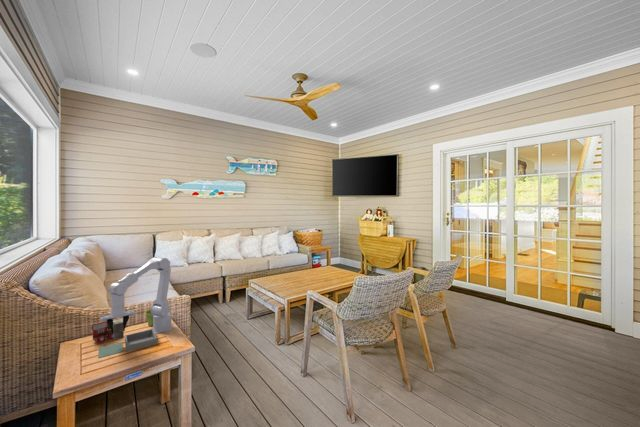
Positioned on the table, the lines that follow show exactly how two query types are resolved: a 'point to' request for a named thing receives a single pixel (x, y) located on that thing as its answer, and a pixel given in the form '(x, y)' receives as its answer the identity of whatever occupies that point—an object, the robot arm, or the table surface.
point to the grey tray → (140, 340)
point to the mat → (110, 350)
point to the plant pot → (149, 318)
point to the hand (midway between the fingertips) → (118, 331)
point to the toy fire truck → (101, 332)
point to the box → (118, 329)
